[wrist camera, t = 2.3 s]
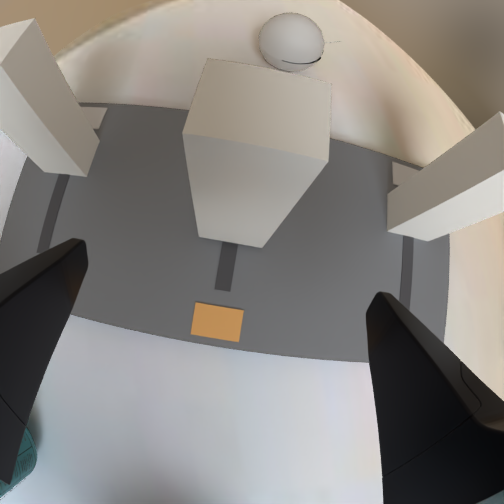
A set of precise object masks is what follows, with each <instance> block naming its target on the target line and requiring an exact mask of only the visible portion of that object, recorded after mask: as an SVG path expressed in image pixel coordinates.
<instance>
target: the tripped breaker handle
mask: <svg viewBox="0 0 504 504" xmlns="http://www.w3.org/2000/svg"><path fill="white" fill-rule="evenodd" d="M331 86H332V84H331V83H328V82H324V81H320V80H317V79H313V78H309V77H305V76H301V75H297V74H293V73H289V72H284V71H280V70H275V69H270V68H265V67H260V66H255V65H249V64H243V63H237V62H231V61H224V60H217V59H209V58H207V61H206V64H205V67H204V69H203V72H202V75H201V78H200V80H199V83H198V86H197V89H196V92H195V95H194V98H193V101H192V104H191V107H190V110H189V113H188V116H187V119H186V123H185V126H184V129H183V132H182V135H183V142H184V149H185V155H186V162H187V169H188V175H189V181H190V187H191V194H192V200H193V206H194V212H195V217H196V223H197V229H198V234H199V237H203V238H208V239H214V240H220V241H225V242H231V243H237V244H242V245H248V246H253V247H259V248H263V246H264V245H265V244H266V242H267V241H268V240H269V238H270V237H271V236H272V235H273V233H274V232H275V231H276V229H277V228H278V227H279V225H280V224H281V223H282V222H283V220H284V219H285V218H286V216H287V215H288V214H289V212H290V211H291V210H292V208H293V207H294V206H295V205H296V203H297V202H298V201H299V199H300V198H301V197H302V195H303V194H304V193H305V191H306V190H307V189H308V188H309V186H310V185H311V184H312V182H313V181H314V180H315V178H316V177H317V176H318V174H319V173H320V172H321V171H322V169H323V168H324V167H325V165H326V164H327V163H328V161H329V143H330V121H331Z"/></svg>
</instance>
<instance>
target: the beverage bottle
mask: <svg viewBox="0 0 504 504" xmlns="http://www.w3.org/2000/svg"><path fill="white" fill-rule="evenodd" d="M36 461H37V452H36V447H35V444H34V441H33V438H32V436H31V434H30V432H29V431H28V429H27V427H26V428H25V432H24V435H23V438H22V442H21V445H20V449H19V453H18V456H17V460H16V464H15V468H14V472H13V476H12V481H11V484H10V485H8V484H6V483H5V482H3V481H1V480H0V498H1V497H2V496H3V495H4V494H5V493H7V492H8V491H9V490H10V492H11V491H12V490H11V489H12V488H13V487H14V486H15V485H17V484H18V483H19V482H20V481H21V480H23V479H24V478H25V477H26V476H28V475H29V474H30V473H31V472H32V471H33V469H34V467H35V465H36ZM23 481H24V480H23ZM17 486H18V485H17ZM17 486H16V487H17ZM4 497H5V496H4Z"/></svg>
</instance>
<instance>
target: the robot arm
mask: <svg viewBox="0 0 504 504" xmlns="http://www.w3.org/2000/svg"><path fill="white" fill-rule="evenodd" d="M87 269H88V254H87V246H86V242H85V241H84V240H83V239H78V238H71V239H69V240H67V241H65V242H63V243H60V244H58V245H56V246H54V247H52V248H50V249H48V250H46V251H44V252H42V253H40V254H38V255H36V256H34V257H32V258H30V259H28V260H26V261H24V262H22V263H20V264H18V265H16V266H14V267H12V268H11V269H9V270H7V271H5V272H3V273H1V274H0V480H1V481H3V482H5V483H6V484H8V485H10V484H11V481H12V476H13V472H14V468H15V464H16V460H17V456H18V453H19V449H20V445H21V442H22V438H23V435H24V432H25V428H26V425H27V422H28V418H29V415H30V412H31V409H32V406H33V404H34V401H35V398H36V395H37V392H38V390H39V387H40V384H41V382H42V379H43V376H44V374H45V371H46V369H47V366H48V364H49V361H50V359H51V356H52V354H53V352H54V349H55V347H56V345H57V342H58V340H59V338H60V336H61V333H62V331H63V329H64V327H65V325H66V322H67V320H68V318H69V316H70V314H71V311H72V309H73V307H74V304H75V301H76V299H77V296H78V293H79V290H80V288H81V285H82V282H83V280H84V277H85V275H86V272H87ZM366 329H367V344H368V358H369V365H370V371H371V378H372V385H373V392H374V399H375V407H376V415H377V423H378V433H379V443H380V453H381V466H382V477H383V478H382V483H383V504H504V401H503V400H502V399H500V398H499V397H498V396H497V395H496V394H495V393H494V392H493V391H492V390H491V389H490V388H489V387H487V386H486V385H485V384H484V383H483V382H482V381H481V380H480V379H479V378H478V377H477V376H476V375H475V374H474V373H473V372H472V371H471V370H470V369H469V368H468V367H467V366H466V365H465V364H464V363H463V362H462V361H461V362H460V359H459V358H458V357H457V356H456V355H455V354H454V353H453V352H452V351H451V350H450V349H449V348H448V347H447V346H446V345H445V344H444V343H443V342H442V341H441V340H440V339H439V338H438V337H437V336H436V335H435V334H433V333H432V332H431V331H430V330H429V329H428V328H427V327H426V326H425V325H424V324H423V323H422V322H421V321H420V320H419V319H418V318H417V317H416V316H415V315H414V314H412V313H411V312H410V311H409V310H408V309H407V308H406V307H405V306H404V305H403V304H402V303H401V302H400V301H398V300H397V299H396V298H395V297H394V296H393V295H392V294H391V293H389V292H382V291H379V292H377V293H376V294H375V296H374V298H373V300H372V302H371V303H370V305H369V307H368V309H367V311H366Z"/></svg>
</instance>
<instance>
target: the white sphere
mask: <svg viewBox="0 0 504 504" xmlns="http://www.w3.org/2000/svg"><path fill="white" fill-rule="evenodd" d="M336 42H340V41H336ZM328 43H331V42H328ZM323 48H324V39H323V35H322V31H321V30H320V28H319V27H318V26H317V25H316V23H315V22H314V21H312V20H311V19H310V18H308V17H306V16H304V15H301V14H298V13H284V14H280V15H276V16H274V17H273V18H271V19H270V20H269V21H267V22H266V23H265V24H264V26H263V28H262V29H261V32H260V34H259V49H260V51H261V53H262V54H263V56H264V58H265V60H266V61H267V62H268V63H269V64H271V65H272V66H274V67H276V68H278V69H281V70H284V71H291V72H297V71H302V70H305V69H307V68H309V67H311V66H313V65H314V64H315V63H316V62H317V61H319V60H320V59H321V56H322V54H323Z"/></svg>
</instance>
